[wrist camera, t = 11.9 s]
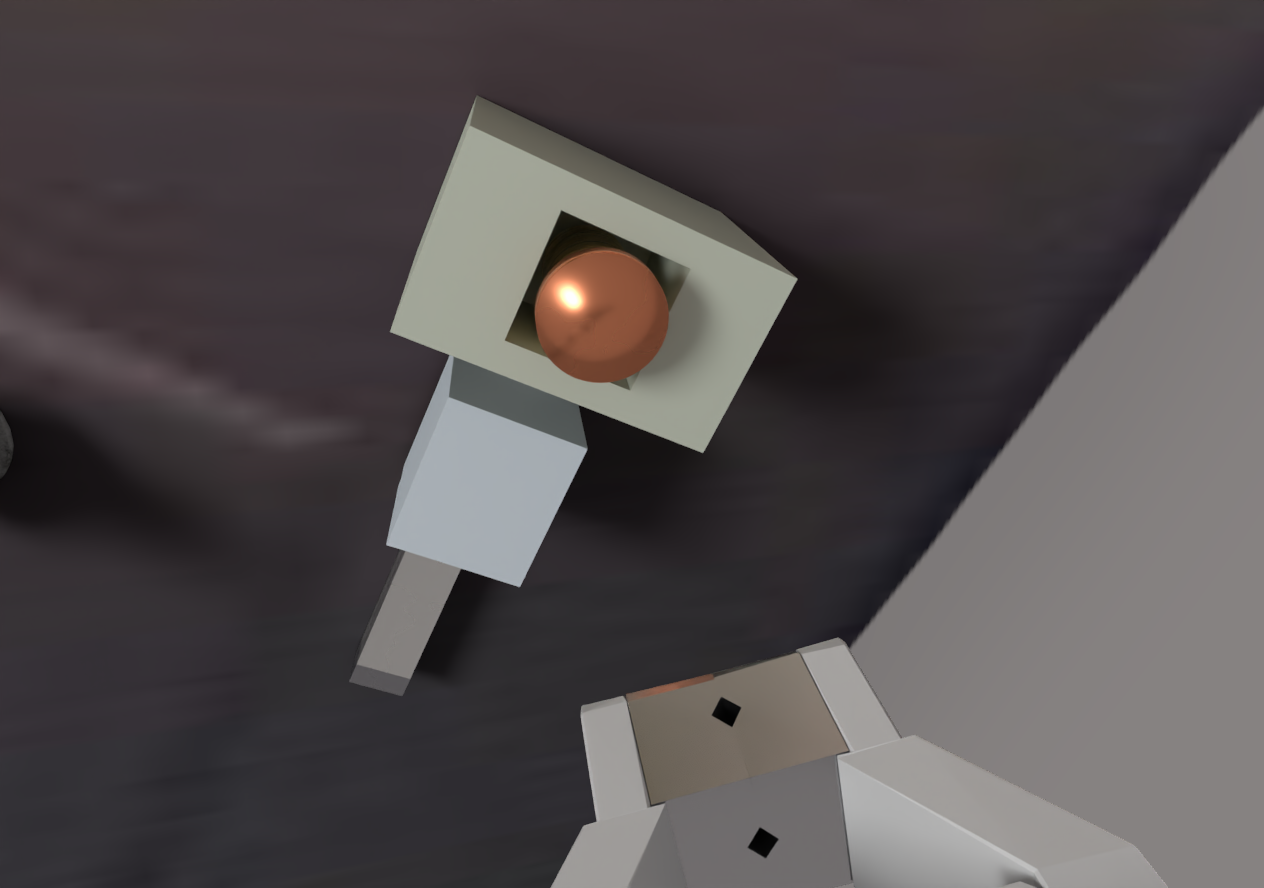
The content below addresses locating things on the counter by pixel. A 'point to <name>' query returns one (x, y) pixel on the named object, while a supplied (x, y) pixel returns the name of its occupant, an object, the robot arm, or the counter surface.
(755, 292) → the block with square hole
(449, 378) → the block
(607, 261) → the copper knob
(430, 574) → the rail
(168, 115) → the counter surface
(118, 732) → the counter surface
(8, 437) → the stone chess piece
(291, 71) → the counter surface
